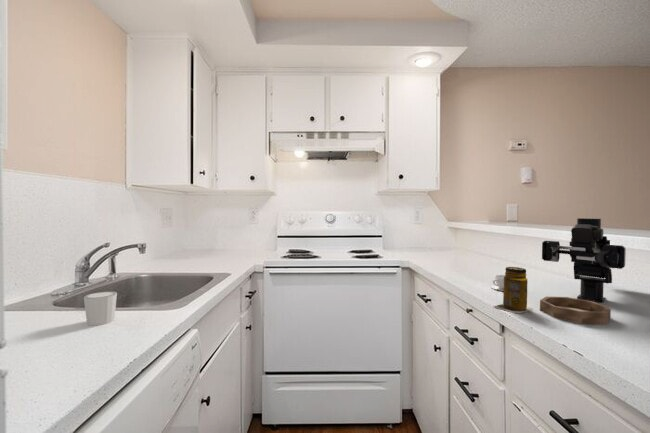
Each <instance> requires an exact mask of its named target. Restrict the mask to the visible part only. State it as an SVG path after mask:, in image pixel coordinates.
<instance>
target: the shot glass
mask: <svg viewBox="0 0 650 433" xmlns="http://www.w3.org/2000/svg"><path fill="white" fill-rule="evenodd" d="M117 297H118V292H117V291H100V292H94V293H89V294H87V295H85V296H83V301H84V311H85V318H86V324H87V326H91V327H93V326H94V327H95V326H103V325H107V324H110V323H112V322H114V321H115V318H116V309H117V308H116V307H117Z"/></svg>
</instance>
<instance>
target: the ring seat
mask: <svg viewBox="0 0 650 433" xmlns="http://www.w3.org/2000/svg"><path fill="white" fill-rule="evenodd" d="M539 311H540V312H543V313H544V314H546V315H548V316H550V317H551V318H556V319H558V320H564V321H568V322H572V323H577V324H581V325H582V324H583V325H604V326H605V325H608V324H609V322H610V321H611V317H612V316H611V315H612V314H611V313H612V312H611V311H612V308H611V307H608V306H607V305H604V304H600V303H599V302H596V301H590V300H585V299H579V298H575V297H569V296H545V297H542V299H539Z"/></svg>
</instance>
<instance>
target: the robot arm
mask: <svg viewBox="0 0 650 433" xmlns="http://www.w3.org/2000/svg"><path fill="white" fill-rule="evenodd" d="M572 226H573V227H572V228H571V231H570V232H571V239H570V241H569V245H568V246H564V245H560V241H556V240H544V241H542V242H541V260H543V261H545V262H555V263H558V262H559V260H560V255H561V254H563V255H569V256H570V258H571V260H570V262H571V263H573V278H574V280H580V290H579V292H580V293H579V295H577V296H576V299H581V300H587V301H592V302H596V303H604V302H605V301H606V300H607V297H604V286H605V285H604V284H607V285H608V284H613V272H612V269H615V268H617V270H618V269H619V270H621V269H623V268H625V267H626V256H627V255H626V251H627V250H626V247H625V246H624V245H617V244H613V245H610V241H611V240H610V239H609V240H608V237H607V236H604V229H603V228H602V219H601V218H588V217H587V218H582V217H581V218H579V217H577V218H576V224H574V225H572Z"/></svg>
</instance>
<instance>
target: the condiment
mask: <svg viewBox="0 0 650 433" xmlns="http://www.w3.org/2000/svg"><path fill="white" fill-rule="evenodd" d="M504 275H505V276H504V291H502V292H503V295H502V296H503V298H502V299H503V300H502V301H503V302H502V303H501V304H498V305H494V306H493V308H496V309H499V310H503V311H506V312H509V313H510V312H511V313H514V314H518V315H520V314H523V313H526V312H529V311H532V310H533V308H531V307H528V278H527V269H526V268H523V267H519V266H518V267H517V266H507V267H505V272H504Z"/></svg>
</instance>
